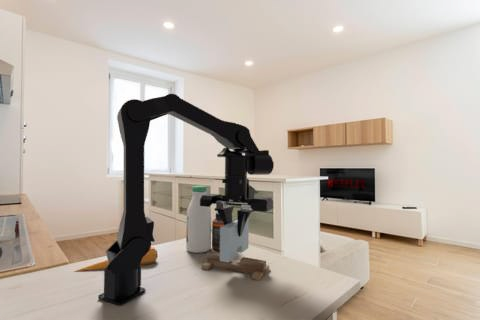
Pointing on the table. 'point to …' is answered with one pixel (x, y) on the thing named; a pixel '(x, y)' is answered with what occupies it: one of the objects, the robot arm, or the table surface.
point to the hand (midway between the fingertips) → (235, 235)
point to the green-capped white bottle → (198, 223)
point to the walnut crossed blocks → (238, 265)
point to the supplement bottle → (216, 231)
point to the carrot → (146, 259)
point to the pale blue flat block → (233, 240)
